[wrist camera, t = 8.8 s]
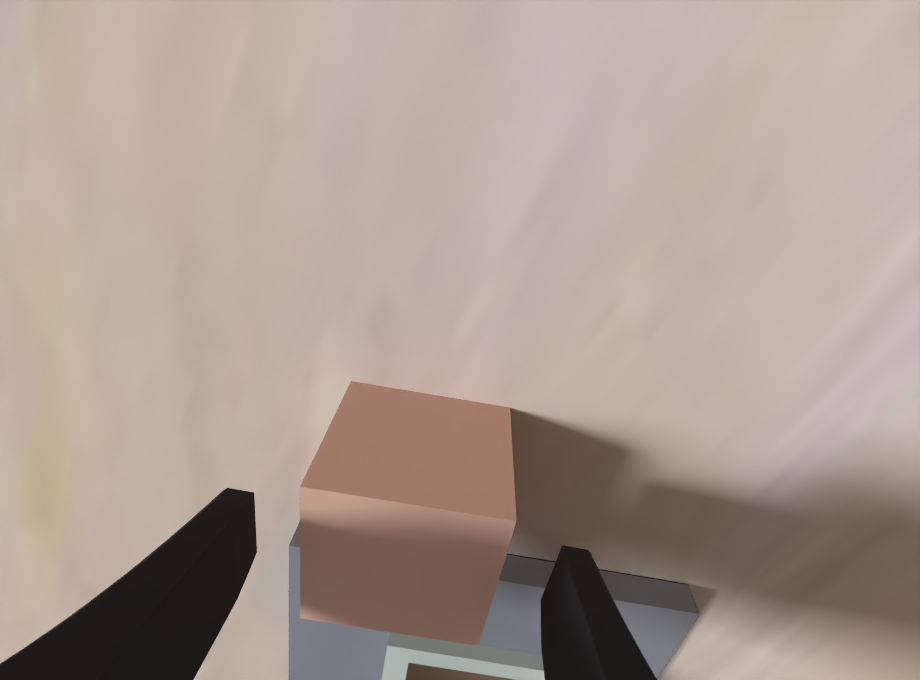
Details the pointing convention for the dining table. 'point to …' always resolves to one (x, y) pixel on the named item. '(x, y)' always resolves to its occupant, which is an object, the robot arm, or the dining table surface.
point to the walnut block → (443, 674)
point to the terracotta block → (407, 514)
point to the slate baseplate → (504, 636)
